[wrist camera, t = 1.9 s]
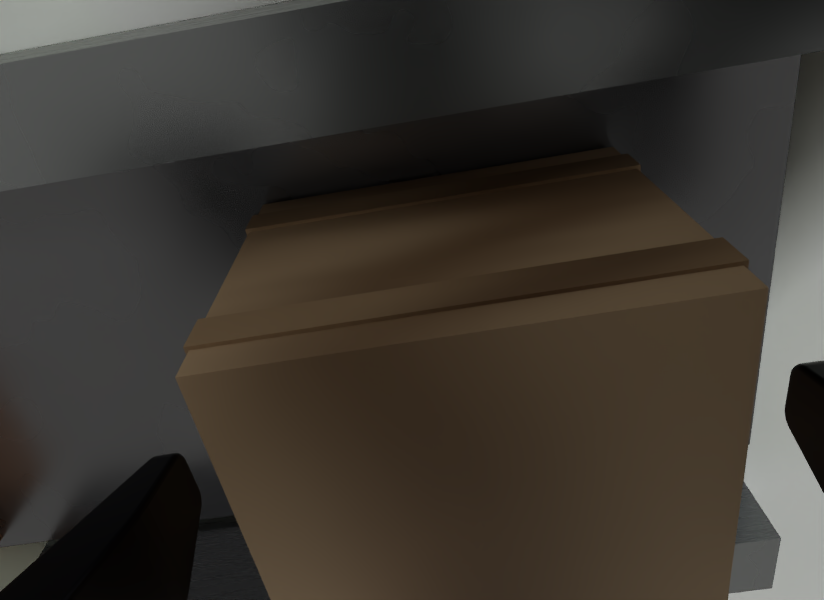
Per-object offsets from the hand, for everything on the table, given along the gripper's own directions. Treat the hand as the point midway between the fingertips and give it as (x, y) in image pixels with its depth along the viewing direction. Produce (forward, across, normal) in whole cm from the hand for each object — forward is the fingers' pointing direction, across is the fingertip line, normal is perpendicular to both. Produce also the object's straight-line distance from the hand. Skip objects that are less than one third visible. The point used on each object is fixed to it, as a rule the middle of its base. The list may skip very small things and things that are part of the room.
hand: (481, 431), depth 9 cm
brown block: (+4, 0, 0) cm, 4 cm away
